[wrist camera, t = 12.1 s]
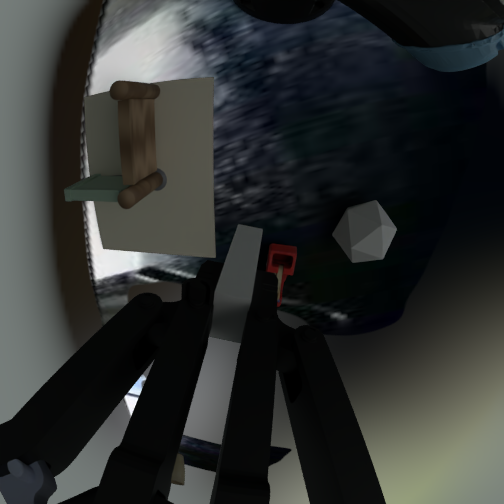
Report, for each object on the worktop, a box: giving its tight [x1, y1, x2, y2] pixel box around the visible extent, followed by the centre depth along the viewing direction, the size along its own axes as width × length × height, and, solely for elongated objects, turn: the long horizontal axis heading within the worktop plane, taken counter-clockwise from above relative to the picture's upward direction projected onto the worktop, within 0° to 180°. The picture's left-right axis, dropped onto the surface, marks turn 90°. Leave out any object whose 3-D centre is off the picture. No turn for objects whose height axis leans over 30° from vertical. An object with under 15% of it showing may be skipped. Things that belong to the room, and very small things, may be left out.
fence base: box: [110, 81, 163, 209], centre depth 32 cm, size 16×2×10 cm, turn 178°
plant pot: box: [171, 453, 185, 485], centre depth 95 cm, size 15×15×16 cm
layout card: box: [84, 77, 216, 258], centre depth 39 cm, size 28×22×1 cm
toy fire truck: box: [266, 244, 297, 307], centre depth 41 cm, size 3×14×10 cm, turn 174°
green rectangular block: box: [64, 174, 131, 202], centre depth 36 cm, size 10×2×8 cm, turn 86°
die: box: [332, 200, 397, 263], centre depth 37 cm, size 8×9×10 cm
